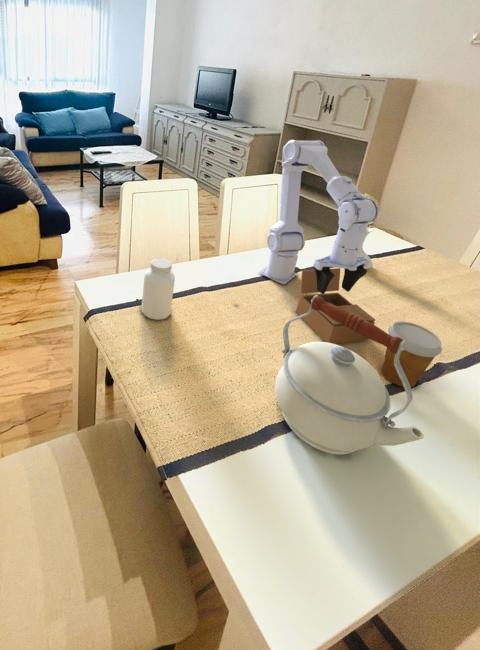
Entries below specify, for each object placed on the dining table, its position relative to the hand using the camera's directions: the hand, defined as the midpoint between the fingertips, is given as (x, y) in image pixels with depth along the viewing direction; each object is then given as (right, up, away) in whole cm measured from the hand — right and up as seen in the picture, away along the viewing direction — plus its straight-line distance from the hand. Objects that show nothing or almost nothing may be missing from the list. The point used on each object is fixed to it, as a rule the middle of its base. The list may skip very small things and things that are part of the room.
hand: (333, 290), depth 101 cm
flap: (-1, +2, +4) cm, 5 cm away
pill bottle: (-47, -6, +3) cm, 47 cm away
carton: (0, -10, +1) cm, 10 cm away
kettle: (-16, -20, -28) cm, 38 cm away
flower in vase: (+26, +2, +35) cm, 43 cm away
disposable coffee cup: (+7, -17, -14) cm, 23 cm away
